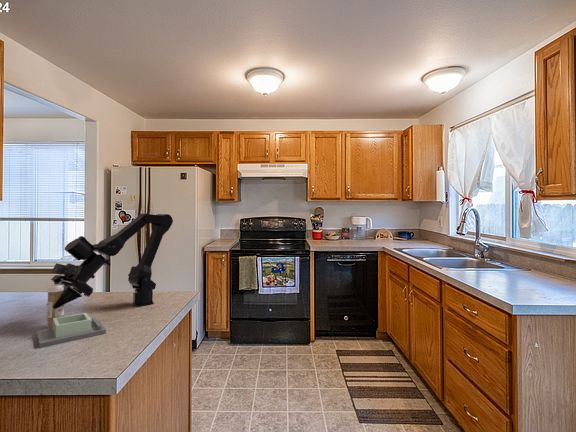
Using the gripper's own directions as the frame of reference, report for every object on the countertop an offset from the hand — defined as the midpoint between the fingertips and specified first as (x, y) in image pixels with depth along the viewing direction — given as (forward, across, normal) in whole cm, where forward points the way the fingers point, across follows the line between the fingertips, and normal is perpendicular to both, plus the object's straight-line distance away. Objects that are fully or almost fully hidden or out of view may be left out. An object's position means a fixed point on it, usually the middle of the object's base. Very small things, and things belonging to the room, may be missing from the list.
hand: (50, 306), depth 99 cm
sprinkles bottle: (+4, 0, +6) cm, 7 cm away
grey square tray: (+4, +12, +6) cm, 14 cm away
